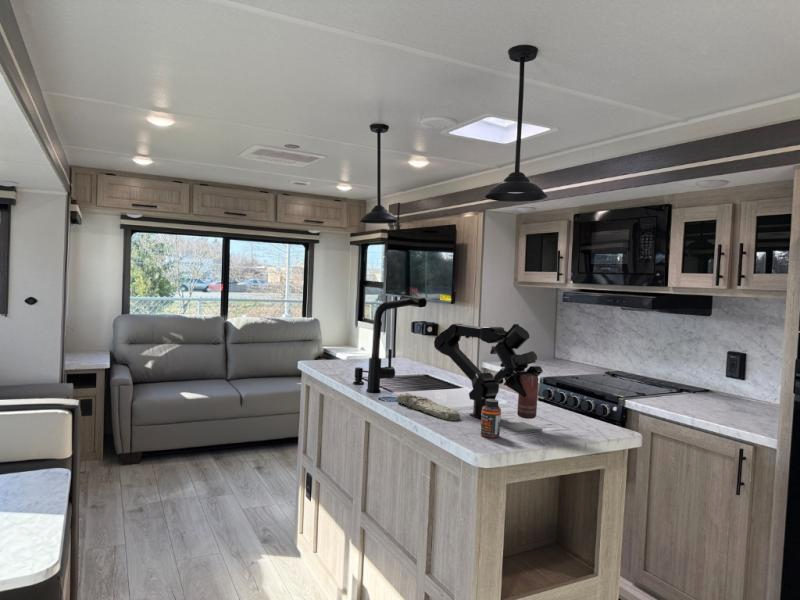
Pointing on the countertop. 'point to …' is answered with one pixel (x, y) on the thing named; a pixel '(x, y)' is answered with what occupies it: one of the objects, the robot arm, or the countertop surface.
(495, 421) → the supplement bottle
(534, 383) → the can
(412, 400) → the elongated rock
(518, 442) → the countertop surface
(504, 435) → the countertop surface
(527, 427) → the mat
